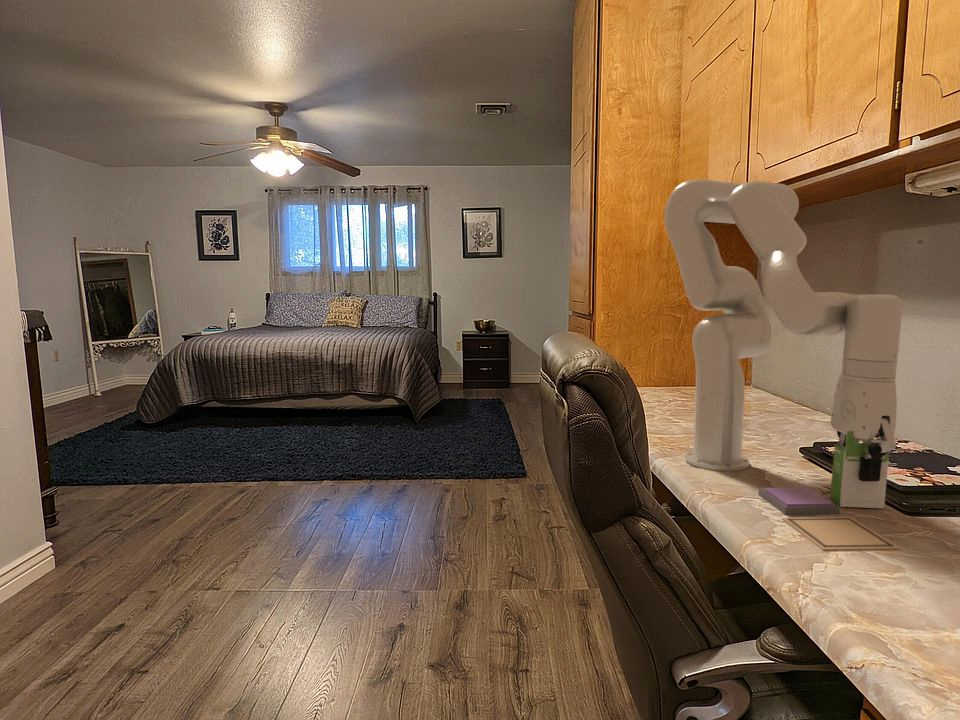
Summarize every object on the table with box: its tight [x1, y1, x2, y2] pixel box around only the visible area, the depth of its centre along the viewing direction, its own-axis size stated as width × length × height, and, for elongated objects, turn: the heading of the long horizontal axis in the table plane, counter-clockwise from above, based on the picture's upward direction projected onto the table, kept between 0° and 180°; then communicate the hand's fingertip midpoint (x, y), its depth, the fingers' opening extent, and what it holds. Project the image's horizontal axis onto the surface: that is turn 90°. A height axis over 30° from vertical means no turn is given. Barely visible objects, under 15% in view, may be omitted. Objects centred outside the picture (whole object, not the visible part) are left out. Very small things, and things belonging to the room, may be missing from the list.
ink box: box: [829, 431, 890, 509], centre depth 98 cm, size 7×4×13 cm, turn 81°
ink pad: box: [757, 486, 841, 515], centre depth 99 cm, size 9×9×2 cm
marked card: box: [781, 516, 901, 552], centre depth 87 cm, size 11×11×1 cm
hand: (858, 474), depth 98 cm, fingers open, 4 cm apart
